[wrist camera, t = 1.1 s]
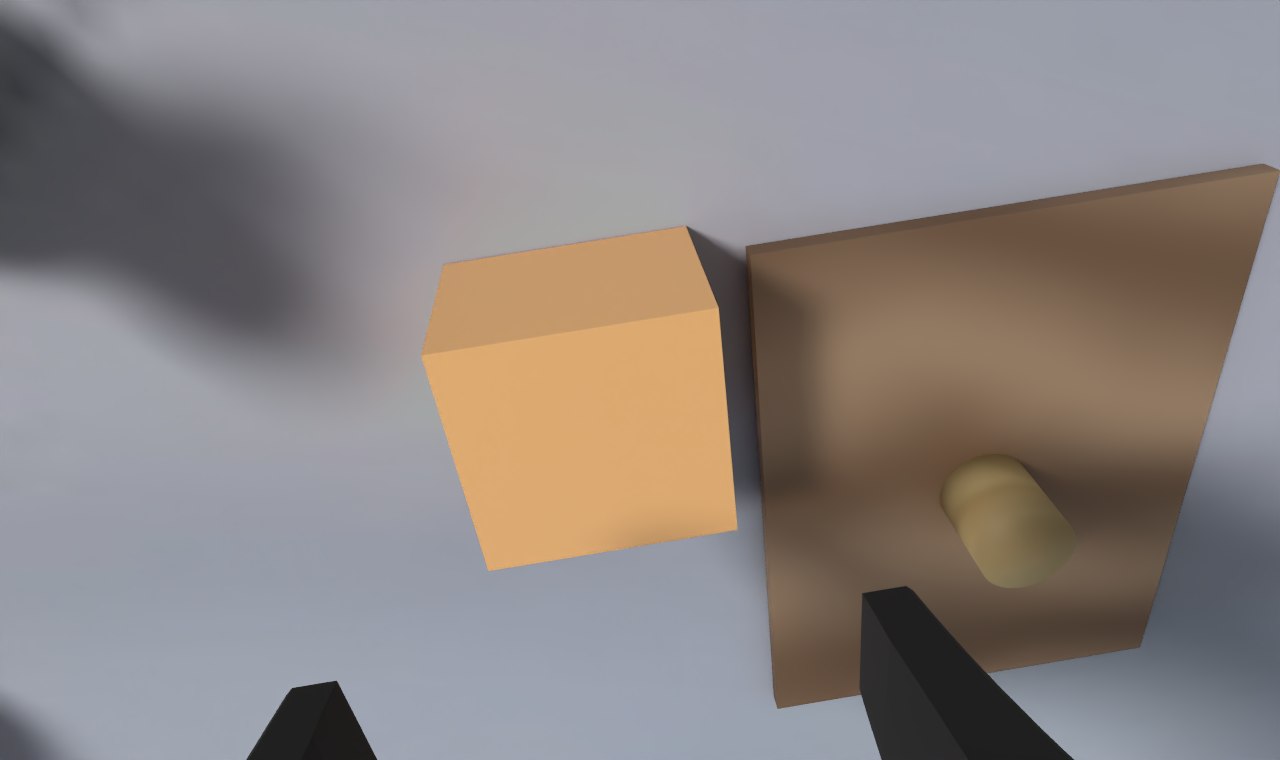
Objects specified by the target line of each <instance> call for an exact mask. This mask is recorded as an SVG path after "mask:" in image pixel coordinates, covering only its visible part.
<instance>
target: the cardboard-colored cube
mask: <svg viewBox="0 0 1280 760" xmlns="http://www.w3.org/2000/svg"><path fill="white" fill-rule="evenodd" d="M421 356H422V360H423V363H424V366H425V369H426V372H427V376H428V379H429V382H430V385H431V388H432V392H433V395H434V398H435V401H436V404H437V408H438V411H439V414H440V417H441V420H442V424H443V427H444V430H445V433H446V436H447V440H448V443H449V446H450V449H451V452H452V456H453V459H454V462H455V465H456V468H457V472H458V475H459V478H460V481H461V484H462V488H463V491H464V494H465V497H466V500H467V504H468V507H469V510H470V513H471V516H472V520H473V523H474V526H475V529H476V532H477V536H478V539H479V542H480V545H481V548H482V552H483V555H484V558H485V561H486V564H487V568H488V571H492V570H498V569H504V568H510V567H516V566H522V565H528V564H534V563H540V562H546V561H552V560H558V559H564V558H570V557H576V556H582V555H588V554H594V553H600V552H606V551H612V550H619V549H625V548H631V547H637V546H643V545H649V544H655V543H661V542H667V541H673V540H679V539H685V538H691V537H697V536H703V535H709V534H715V533H721V532H727V531H733V530H738V529H737V518H736V506H735V494H734V482H733V471H732V459H731V447H730V435H729V424H728V412H727V400H726V388H725V377H724V365H723V353H722V341H721V330H720V318H719V307H718V305H717V302H716V300H715V297H714V295H713V292H712V290H711V287H710V285H709V282H708V280H707V277H706V275H705V273H704V270H703V268H702V265H701V263H700V260H699V258H698V255H697V253H696V250H695V248H694V245H693V243H692V240H691V238H690V235H689V233H688V230H687V228H686V226H684V227H678V228H671V229H665V230H659V231H653V232H646V233H640V234H634V235H627V236H621V237H615V238H608V239H602V240H596V241H590V242H583V243H577V244H571V245H564V246H558V247H552V248H545V249H539V250H533V251H527V252H520V253H514V254H508V255H501V256H495V257H489V258H482V259H476V260H470V261H464V262H457V263H451V264H445V265H443V269H442V273H441V277H440V281H439V285H438V289H437V293H436V298H435V302H434V306H433V310H432V314H431V318H430V322H429V326H428V330H427V334H426V338H425V342H424V346H423V351H422V355H421Z"/></svg>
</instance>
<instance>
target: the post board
mask: <svg viewBox="0 0 1280 760" xmlns="http://www.w3.org/2000/svg"><path fill="white" fill-rule="evenodd" d="M1279 173H1280V170H1278V169H1275V168H1273V167H1270V166H1268V165H1265V164H1259V165H1253V166H1247V167H1240V168H1234V169H1228V170H1221V171H1215V172H1209V173H1203V174H1196V175H1190V176H1184V177H1178V178H1171V179H1165V180H1159V181H1152V182H1146V183H1140V184H1134V185H1127V186H1121V187H1115V188H1108V189H1102V190H1096V191H1090V192H1083V193H1077V194H1071V195H1065V196H1058V197H1052V198H1046V199H1039V200H1033V201H1027V202H1021V203H1014V204H1008V205H1002V206H996V207H989V208H983V209H977V210H970V211H964V212H958V213H952V214H945V215H939V216H933V217H927V218H920V219H914V220H908V221H901V222H895V223H889V224H883V225H876V226H870V227H864V228H857V229H851V230H845V231H839V232H832V233H826V234H820V235H814V236H807V237H801V238H795V239H788V240H782V241H776V242H770V243H763V244H757V245H751V246H746V257H747V273H748V289H749V305H750V321H751V337H752V353H753V369H754V385H755V401H756V417H757V433H758V449H759V465H760V481H761V497H762V513H763V529H764V545H765V561H766V577H767V593H768V609H769V625H770V641H771V657H772V673H773V689H774V698H775V701H776V705H777V709H779V708H785V707H791V706H797V705H803V704H809V703H815V702H820V701H826V700H832V699H838V698H844V697H850V696H856V695H861V692H860V689H859V685H860V651H861V616H862V593H866V592H872V591H878V590H884V589H890V588H896V587H902V586H907V587H909V588H910V589H912V590H913V591H914V592H915V593H916V594H917V595H918V597H919V598H920V599H921V600H922V601H923V603H924V604H925V605H926V606H927V607H928V609H929V610H930V611H931V612H932V613H933V614H934V616H935V617H936V618H937V619H938V620H939V621H940V622H941V624H942V625H943V626H944V627H945V628H946V629H947V630H948V632H949V633H950V634H951V635H952V636H953V637H954V638H955V639H956V641H957V642H958V643H959V644H960V645H961V646H962V647H963V648H964V649H965V650H966V652H967V653H968V654H969V655H970V656H971V657H972V658H973V659H974V660H975V661H976V662H977V663H978V665H979V666H980V667H981V668H982V669H983V670H984V671H985V672H986V673H991V672H997V671H1003V670H1009V669H1015V668H1021V667H1027V666H1033V665H1038V664H1044V663H1050V662H1056V661H1062V660H1068V659H1074V658H1080V657H1086V656H1092V655H1097V654H1103V653H1109V652H1115V651H1121V650H1127V649H1133V648H1139V647H1140V645H1141V642H1142V638H1143V635H1144V632H1145V628H1146V625H1147V621H1148V618H1149V615H1150V611H1151V608H1152V604H1153V601H1154V598H1155V594H1156V591H1157V587H1158V584H1159V581H1160V577H1161V574H1162V570H1163V567H1164V564H1165V560H1166V557H1167V553H1168V550H1169V547H1170V543H1171V540H1172V536H1173V533H1174V530H1175V526H1176V523H1177V519H1178V516H1179V513H1180V509H1181V506H1182V502H1183V499H1184V496H1185V492H1186V489H1187V485H1188V482H1189V479H1190V475H1191V472H1192V469H1193V465H1194V462H1195V458H1196V455H1197V452H1198V448H1199V445H1200V441H1201V438H1202V435H1203V431H1204V428H1205V424H1206V421H1207V418H1208V414H1209V411H1210V407H1211V404H1212V401H1213V397H1214V394H1215V390H1216V387H1217V384H1218V380H1219V377H1220V373H1221V370H1222V367H1223V363H1224V360H1225V356H1226V353H1227V350H1228V346H1229V343H1230V339H1231V336H1232V333H1233V329H1234V326H1235V322H1236V319H1237V316H1238V312H1239V309H1240V305H1241V302H1242V299H1243V295H1244V292H1245V288H1246V285H1247V282H1248V278H1249V275H1250V271H1251V268H1252V265H1253V261H1254V258H1255V254H1256V251H1257V248H1258V244H1259V241H1260V237H1261V234H1262V231H1263V227H1264V224H1265V221H1266V217H1267V214H1268V210H1269V207H1270V204H1271V200H1272V197H1273V193H1274V190H1275V187H1276V183H1277V180H1278V176H1279Z"/></svg>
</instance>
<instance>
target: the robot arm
mask: <svg viewBox="0 0 1280 760" xmlns="http://www.w3.org/2000/svg"><path fill="white" fill-rule="evenodd" d="M859 689H860V692H861V695H862V698H863V702H864V705H865V708H866V711H867V715H868V718H869V721H870V725H871V728H872V731H873V734H874V737H875V740H876V744H877V747H878V750H879V753H880V756H881V759H882V760H1074V759H1073V758H1072V757H1071V756H1069V755H1068V754H1067V753H1066V752H1065V751H1064V750H1063V749H1062V748H1061V747H1060V746H1059V745H1058V744H1057V743H1056V742H1055V741H1054V740H1053V739H1052V738H1050V737H1049V736H1048V735H1047V734H1046V733H1045V732H1044V731H1043V730H1042V729H1041V728H1040V727H1039V726H1038V725H1037V724H1036V723H1035V722H1034V721H1033V720H1032V719H1031V718H1030V717H1029V716H1028V715H1027V714H1026V713H1025V712H1024V711H1023V710H1022V709H1021V708H1020V707H1019V706H1018V705H1017V704H1016V703H1015V702H1014V701H1013V700H1012V699H1011V698H1010V697H1009V696H1008V695H1007V694H1006V693H1005V692H1004V691H1003V690H1002V689H1001V688H1000V687H999V686H998V685H997V684H996V683H995V681H994V680H993V679H992V678H991V677H990V676H989V675H988V674H987V673H986V672H985V671H984V670H983V669H982V668H981V667H980V666H979V665H978V663H977V662H976V661H975V660H974V659H973V658H972V657H971V656H970V655H969V654H968V653H967V652H966V650H965V649H964V648H963V647H962V646H961V645H960V644H959V643H958V642H957V641H956V639H955V638H954V637H953V636H952V635H951V634H950V633H949V632H948V630H947V629H946V628H945V627H944V626H943V625H942V624H941V622H940V621H939V620H938V619H937V618H936V617H935V616H934V614H933V613H932V612H931V611H930V610H929V609H928V607H927V606H926V605H925V604H924V603H923V601H922V600H921V599H920V598H919V597H918V595H917V594H916V593H915V592H914V591H913V590H912V589H910V588H909V587H907V586H902V587H896V588H890V589H884V590H878V591H872V592H866V593H862V616H861V651H860V685H859ZM247 760H377V758H376V757H375V755H374V753H373V751H372V749H371V747H370V745H369V743H368V741H367V739H366V737H365V735H364V733H363V731H362V729H361V727H360V725H359V723H358V721H357V719H356V717H355V715H354V713H353V711H352V710H351V708H350V706H349V704H348V702H347V700H346V698H345V696H344V694H343V692H342V690H341V688H340V686H339V684H338V682H337V681H332V682H326V683H320V684H314V685H308V686H302V687H296V688H292V689H291V690H290V691H289V693H288V694H287V695H286V697H285V698H284V700H283V702H282V703H281V705H280V706H279V708H278V710H277V711H276V713H275V714H274V716H273V718H272V719H271V721H270V722H269V724H268V726H267V727H266V729H265V731H264V732H263V734H262V735H261V737H260V739H259V740H258V742H257V743H256V745H255V747H254V748H253V750H252V752H251V753H250V755H249V756H248V758H247Z"/></svg>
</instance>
